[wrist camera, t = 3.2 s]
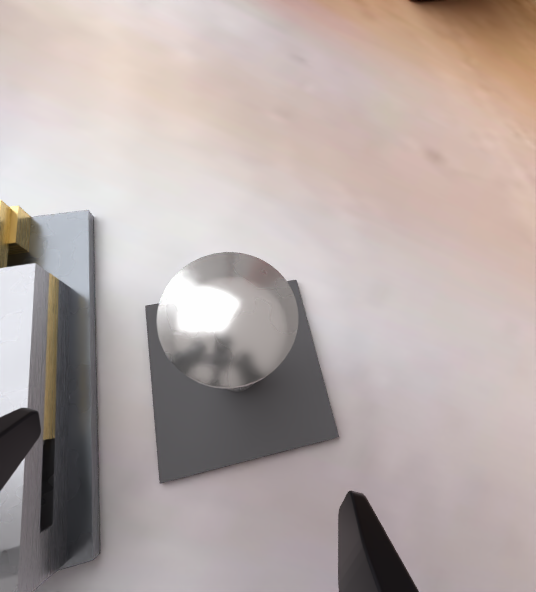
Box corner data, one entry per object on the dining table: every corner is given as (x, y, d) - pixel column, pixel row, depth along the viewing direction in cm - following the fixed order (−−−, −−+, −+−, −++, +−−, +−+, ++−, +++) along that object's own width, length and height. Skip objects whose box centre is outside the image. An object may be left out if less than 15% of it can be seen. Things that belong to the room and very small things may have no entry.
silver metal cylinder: (277, 357, 20) (321, 293, 9) (247, 412, 19) (252, 418, 7) (228, 327, 20) (210, 230, 9) (194, 378, 19) (125, 337, 8)
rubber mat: (337, 436, 19) (339, 437, 19) (161, 481, 17) (159, 483, 17) (295, 281, 23) (296, 279, 22) (147, 307, 21) (145, 306, 21)
